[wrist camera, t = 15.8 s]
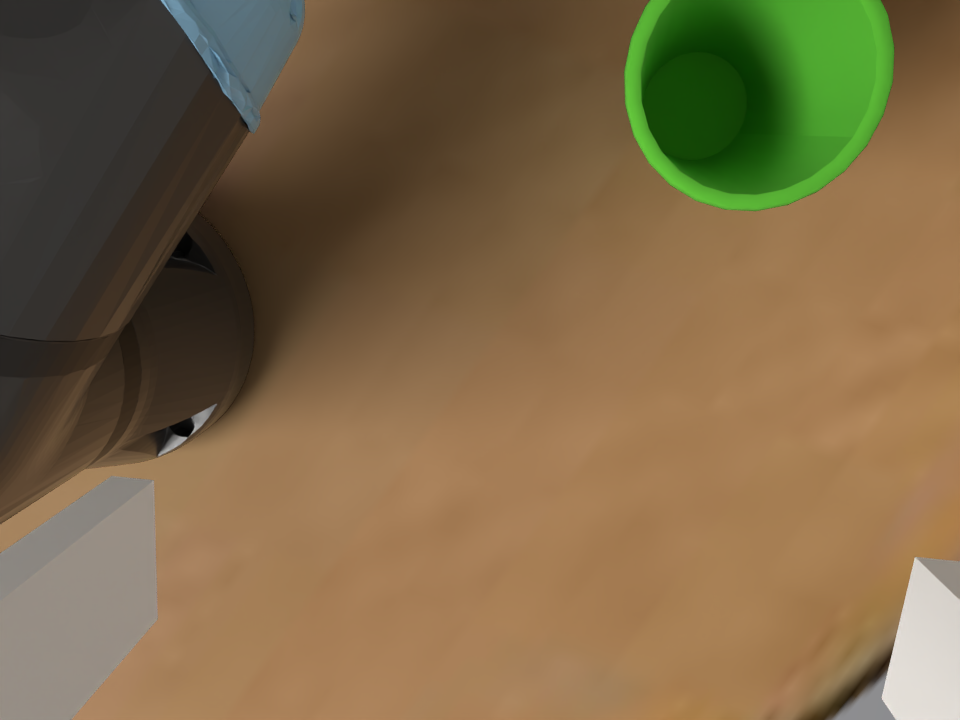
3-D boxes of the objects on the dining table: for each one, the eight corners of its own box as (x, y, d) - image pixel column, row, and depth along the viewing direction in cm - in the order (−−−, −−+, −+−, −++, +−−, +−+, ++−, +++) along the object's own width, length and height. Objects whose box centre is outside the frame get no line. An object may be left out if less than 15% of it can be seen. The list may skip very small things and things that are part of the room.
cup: (664, -31, 35) (723, -127, 24) (826, 71, 35) (955, 22, 24) (562, 143, 37) (575, 126, 26) (716, 237, 37) (791, 258, 27)
